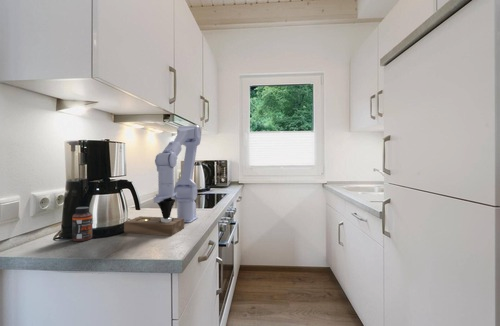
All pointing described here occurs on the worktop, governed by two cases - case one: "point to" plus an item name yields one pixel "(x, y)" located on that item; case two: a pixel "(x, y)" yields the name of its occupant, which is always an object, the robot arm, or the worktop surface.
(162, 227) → the walnut block
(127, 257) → the worktop surface
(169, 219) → the steel peg
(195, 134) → the robot arm
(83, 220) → the supplement bottle
